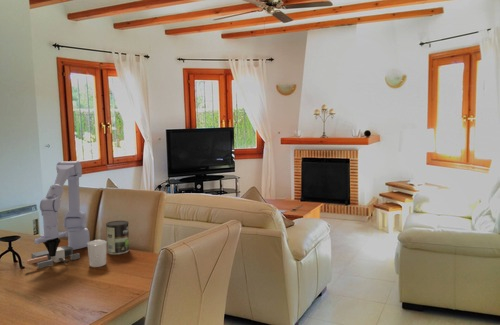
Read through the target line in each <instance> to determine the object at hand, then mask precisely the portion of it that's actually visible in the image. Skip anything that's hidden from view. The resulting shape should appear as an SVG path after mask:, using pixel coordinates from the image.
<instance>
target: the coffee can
mask: <svg viewBox="0 0 500 325" xmlns="http://www.w3.org/2000/svg"><path fill="white" fill-rule="evenodd" d="M129 224H130V223H129V220H128V221H127V220H112V221H109V222H108V221H107V222H106V223H105V226H106V241H107V252H106V254H109V255H114V256H115V255H124V254H126V253H129V251H130V242H129V241H130V240H129V239H130V234H129V230H130V229H129Z"/></svg>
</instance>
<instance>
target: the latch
mask: <svg viewBox="0 0 500 325" xmlns="http://www.w3.org/2000/svg"><path fill="white" fill-rule="evenodd" d="M44 260H48V256H43V257H39V258H34V259H32V258H31V259H30V258H29V259H27V260H26V264H27V265H31V264H36V262H40V261H44Z"/></svg>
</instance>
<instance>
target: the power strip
mask: <svg viewBox="0 0 500 325" xmlns="http://www.w3.org/2000/svg"><path fill="white" fill-rule="evenodd" d="M60 247H61V248H62V249H64V252H65V258H68V257H69V260H70V261H73V260H78V259H81V253H80V252H76V253H74V250H73V248H72V247H69V246H68V244H67V245H62V246H60ZM30 254H31V255H30V257H31V259H34V258H39V257H43V256H48V260H44V261H40V262H36V263H35V264H36V265H37V267H36V268H37V269H38V270H39V269H42V268H47V267H51V266H54V261H53V260H51V256H50V255H49V252H48V250H47V249H45V250H41V251H36V252H32V253H30Z"/></svg>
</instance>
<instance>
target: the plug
mask: <svg viewBox="0 0 500 325" xmlns="http://www.w3.org/2000/svg"><path fill="white" fill-rule="evenodd" d="M61 247H62V246H58V247H57V250H56V255H55V256H54V257H51V260H53V263H59V262H62V263H65V264H68V263H69V261H68V260H66V257H65V252H64V249H62V248H61Z"/></svg>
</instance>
